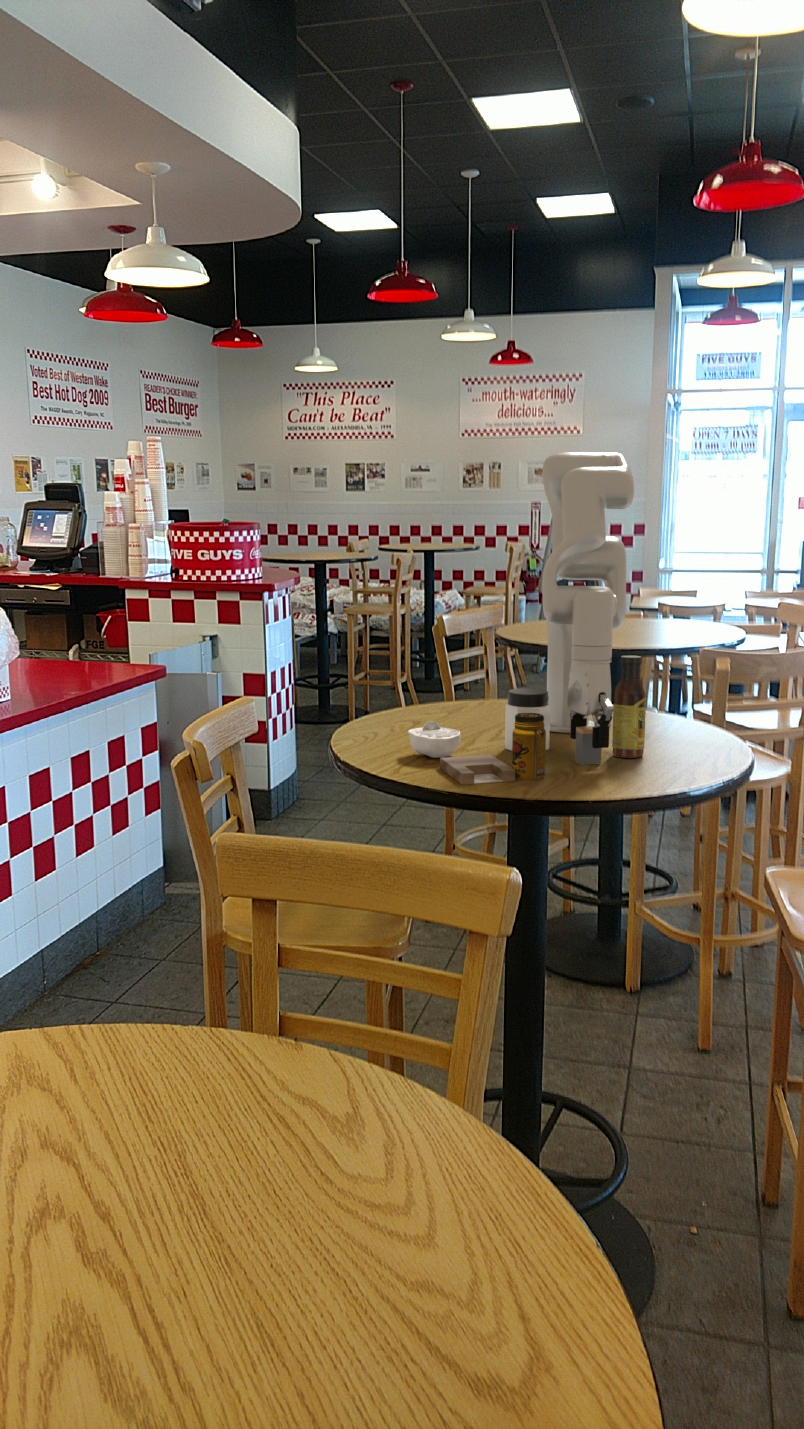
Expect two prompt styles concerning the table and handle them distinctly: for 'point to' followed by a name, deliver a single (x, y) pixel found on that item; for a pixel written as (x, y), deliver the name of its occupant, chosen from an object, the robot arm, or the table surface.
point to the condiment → (529, 747)
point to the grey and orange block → (586, 747)
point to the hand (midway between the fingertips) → (589, 743)
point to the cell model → (434, 740)
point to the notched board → (477, 769)
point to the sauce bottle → (629, 710)
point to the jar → (526, 710)
